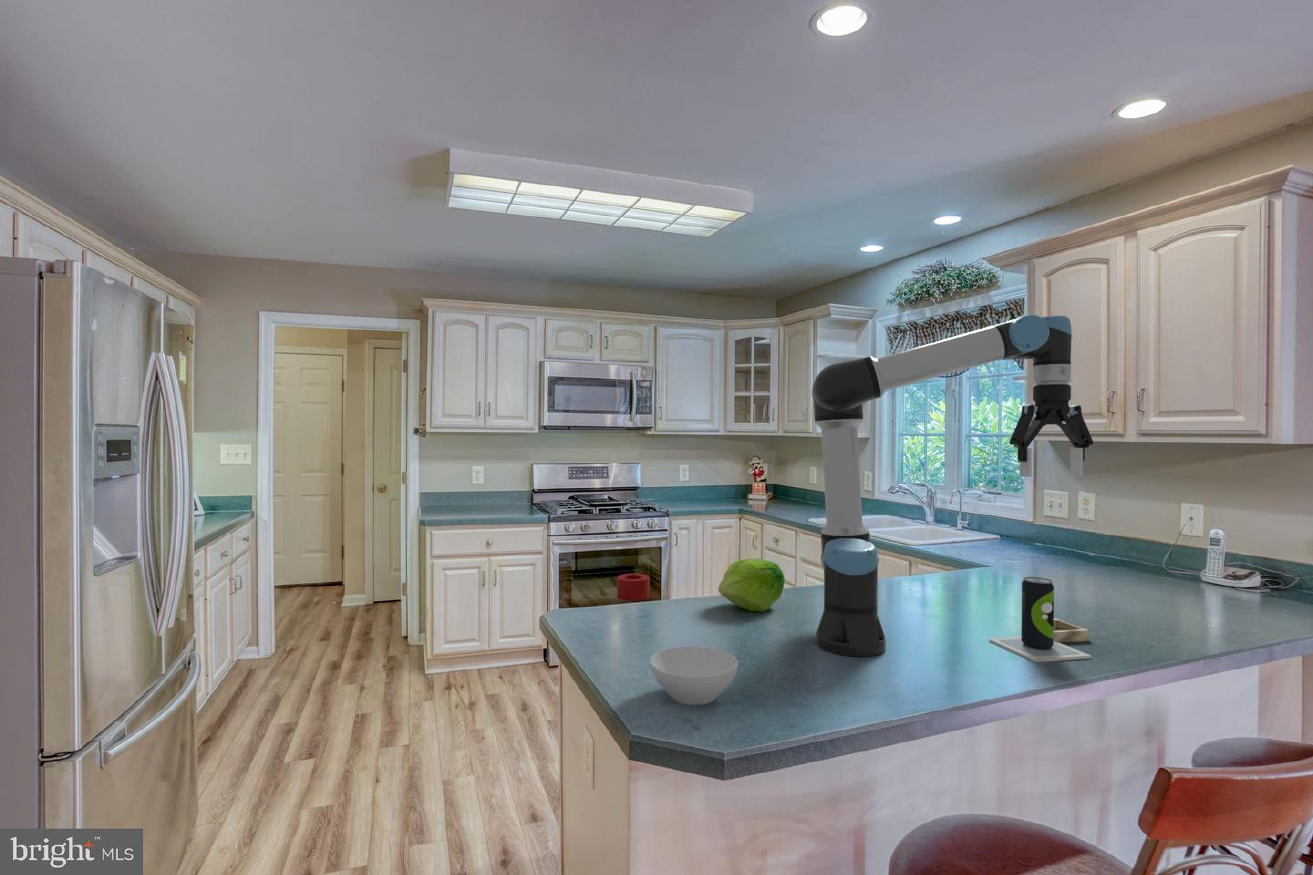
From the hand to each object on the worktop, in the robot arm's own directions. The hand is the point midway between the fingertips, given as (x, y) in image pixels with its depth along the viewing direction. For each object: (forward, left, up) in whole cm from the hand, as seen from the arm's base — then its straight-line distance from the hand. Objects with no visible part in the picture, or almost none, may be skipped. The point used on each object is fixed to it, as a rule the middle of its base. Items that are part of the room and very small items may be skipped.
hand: (1051, 476), depth 147 cm
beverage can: (-6, -3, -38) cm, 39 cm away
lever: (-88, +60, -39) cm, 113 cm away
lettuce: (-59, +40, -39) cm, 81 cm away
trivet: (-6, -3, -39) cm, 39 cm away
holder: (+6, +5, -39) cm, 40 cm away
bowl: (-89, -15, -39) cm, 98 cm away
